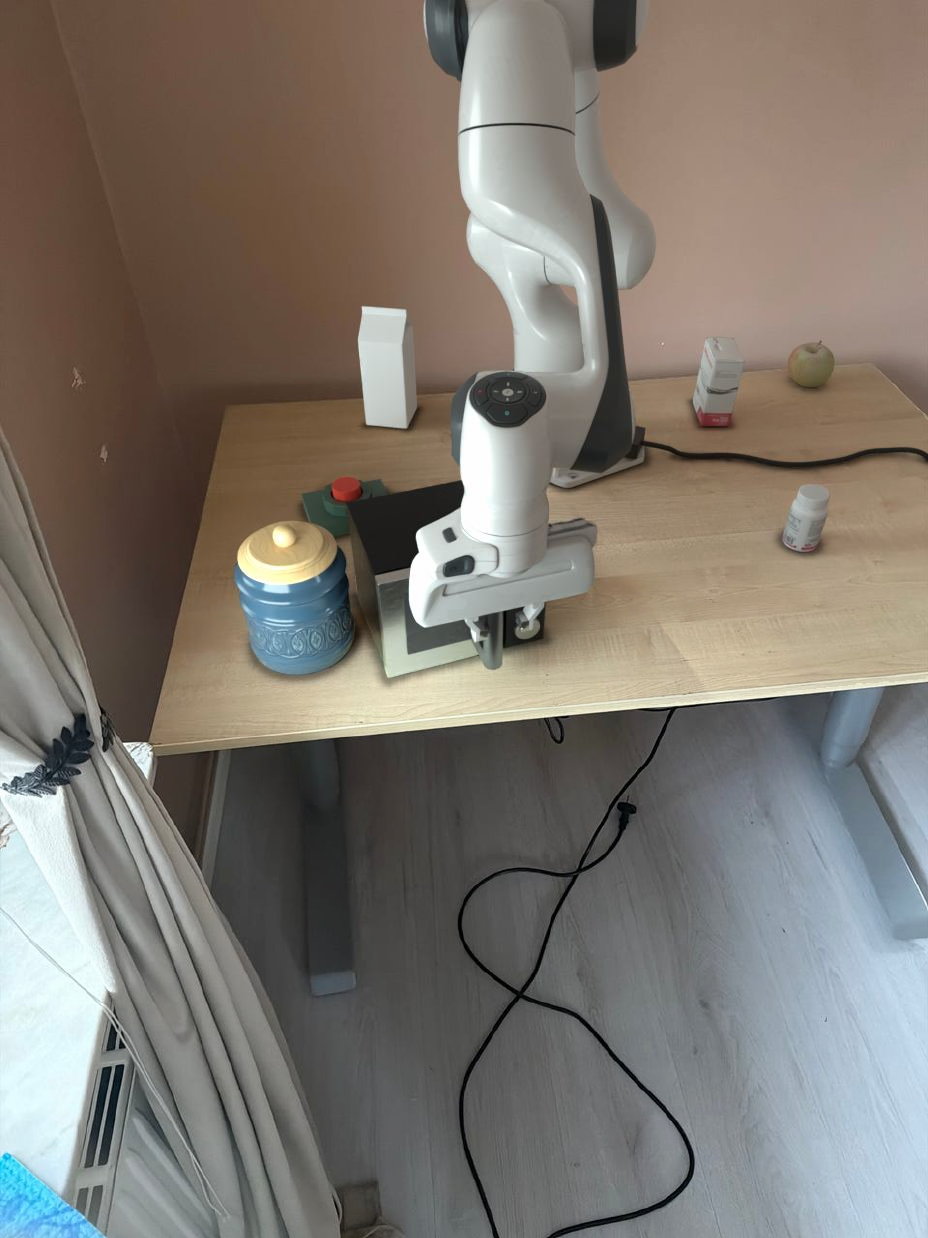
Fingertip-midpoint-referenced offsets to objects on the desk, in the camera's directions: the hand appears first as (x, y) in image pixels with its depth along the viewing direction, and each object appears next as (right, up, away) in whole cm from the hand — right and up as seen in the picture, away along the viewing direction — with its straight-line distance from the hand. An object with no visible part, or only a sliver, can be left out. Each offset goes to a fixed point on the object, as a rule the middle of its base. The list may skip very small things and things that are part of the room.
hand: (501, 632), depth 100 cm
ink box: (+37, +36, +50) cm, 72 cm away
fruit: (+56, +43, +58) cm, 91 cm away
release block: (-21, +17, +30) cm, 41 cm away
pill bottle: (+42, +12, +24) cm, 51 cm away
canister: (-24, -1, +11) cm, 27 cm away
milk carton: (-16, +36, +51) cm, 64 cm away
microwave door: (-6, -5, +6) cm, 10 cm away
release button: (-21, +19, +28) cm, 40 cm away
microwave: (-6, +1, +14) cm, 15 cm away
